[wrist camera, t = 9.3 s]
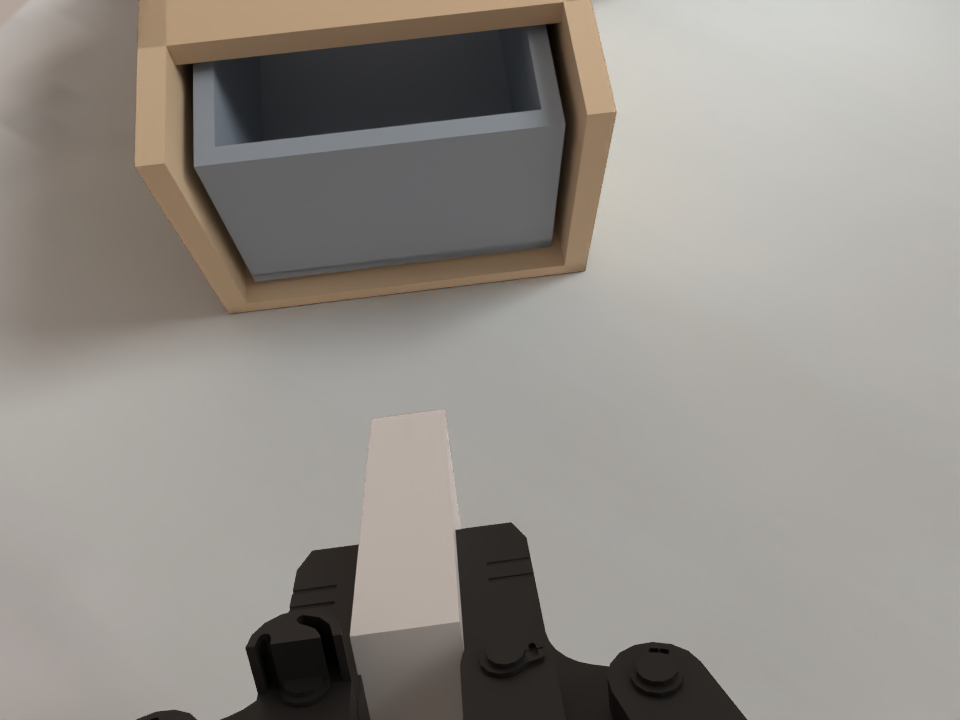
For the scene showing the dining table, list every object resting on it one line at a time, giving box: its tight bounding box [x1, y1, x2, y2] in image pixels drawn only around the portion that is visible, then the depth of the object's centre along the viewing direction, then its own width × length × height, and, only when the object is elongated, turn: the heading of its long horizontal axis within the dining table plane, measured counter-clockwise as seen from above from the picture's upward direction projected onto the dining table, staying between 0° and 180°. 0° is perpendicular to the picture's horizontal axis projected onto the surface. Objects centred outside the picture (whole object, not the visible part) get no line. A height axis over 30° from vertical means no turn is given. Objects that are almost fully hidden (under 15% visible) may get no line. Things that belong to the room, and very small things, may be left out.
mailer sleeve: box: [135, 0, 617, 314], centre depth 31 cm, size 13×14×9 cm
